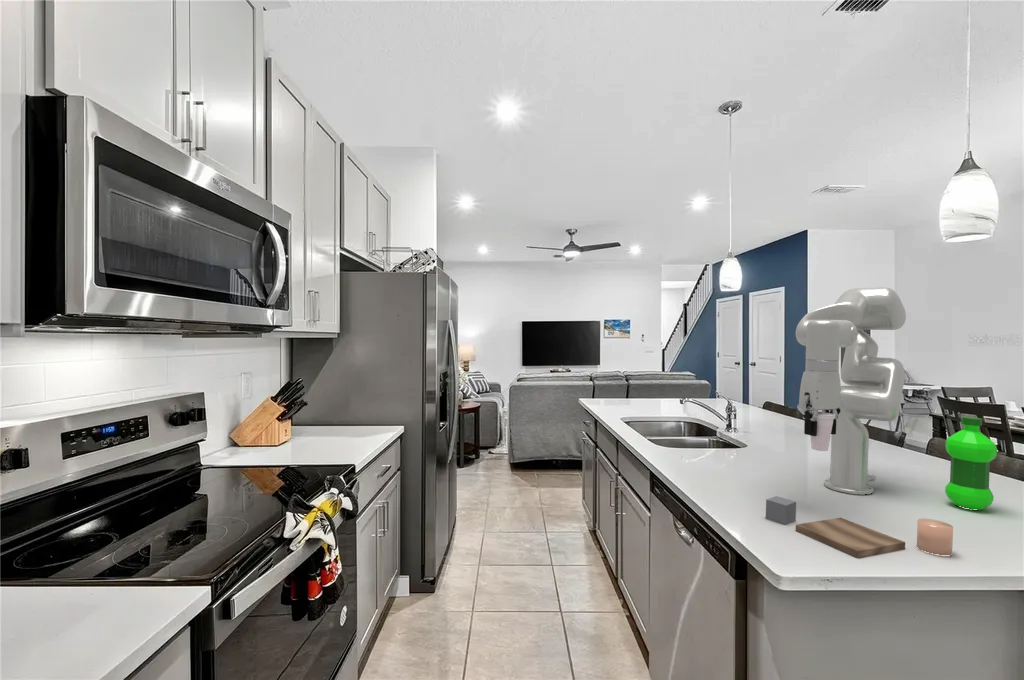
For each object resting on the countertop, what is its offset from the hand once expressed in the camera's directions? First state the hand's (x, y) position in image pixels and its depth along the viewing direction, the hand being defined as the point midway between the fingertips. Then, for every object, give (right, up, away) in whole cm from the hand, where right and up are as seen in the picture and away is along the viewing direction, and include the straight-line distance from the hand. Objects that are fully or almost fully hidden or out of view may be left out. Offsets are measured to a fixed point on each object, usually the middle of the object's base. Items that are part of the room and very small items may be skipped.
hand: (820, 433), depth 131 cm
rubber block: (-13, -21, -5) cm, 25 cm away
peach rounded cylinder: (+12, -22, -22) cm, 33 cm away
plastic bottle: (+45, -22, +6) cm, 50 cm away
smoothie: (0, -4, 0) cm, 4 cm away
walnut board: (-4, -21, -17) cm, 27 cm away
